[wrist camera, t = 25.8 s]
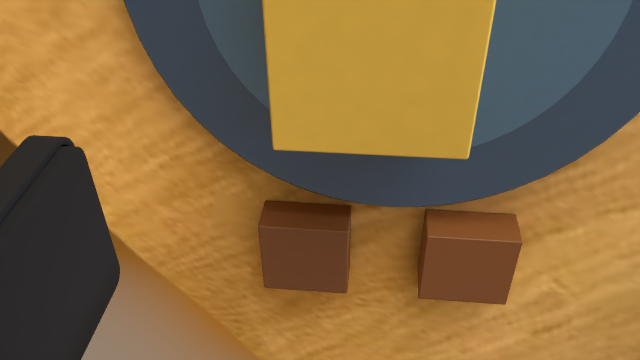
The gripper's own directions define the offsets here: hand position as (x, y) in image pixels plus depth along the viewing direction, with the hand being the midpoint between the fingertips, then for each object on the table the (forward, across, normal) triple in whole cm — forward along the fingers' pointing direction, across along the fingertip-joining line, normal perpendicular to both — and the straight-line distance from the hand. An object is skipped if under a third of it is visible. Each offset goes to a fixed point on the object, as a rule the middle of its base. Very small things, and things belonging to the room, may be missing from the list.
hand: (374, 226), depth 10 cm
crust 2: (+16, -5, +15) cm, 23 cm away
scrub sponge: (+15, 0, 0) cm, 15 cm away
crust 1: (+16, +3, +15) cm, 22 cm away
